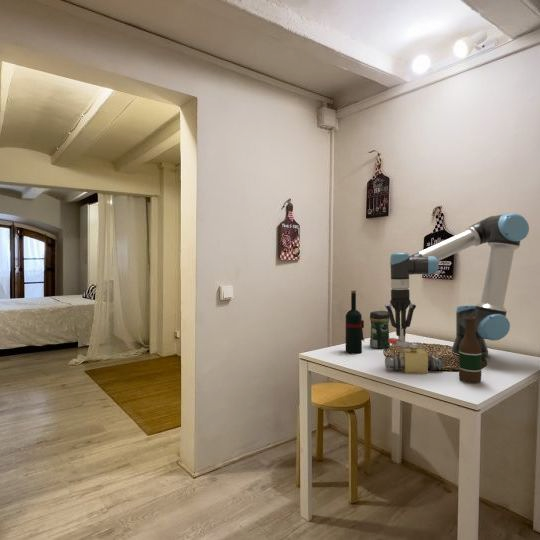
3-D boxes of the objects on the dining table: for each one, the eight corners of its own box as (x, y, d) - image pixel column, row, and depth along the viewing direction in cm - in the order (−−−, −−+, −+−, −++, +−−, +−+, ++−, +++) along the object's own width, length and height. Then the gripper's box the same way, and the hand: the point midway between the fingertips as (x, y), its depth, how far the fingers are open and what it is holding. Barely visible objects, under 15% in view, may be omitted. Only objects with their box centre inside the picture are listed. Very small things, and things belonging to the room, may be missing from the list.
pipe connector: (411, 352, 182) (411, 332, 182) (417, 358, 172) (417, 336, 172) (389, 352, 183) (389, 332, 183) (394, 358, 173) (394, 336, 173)
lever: (421, 348, 155) (421, 344, 154) (414, 350, 152) (414, 345, 152) (394, 341, 167) (394, 337, 167) (387, 343, 165) (387, 338, 165)
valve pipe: (437, 367, 159) (437, 346, 158) (444, 373, 152) (444, 350, 151) (384, 367, 160) (384, 346, 159) (388, 373, 153) (388, 350, 152)
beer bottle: (462, 375, 149) (462, 314, 148) (484, 380, 143) (485, 316, 142) (455, 380, 143) (456, 317, 142) (478, 385, 138) (478, 319, 137)
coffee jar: (381, 344, 200) (381, 309, 199) (392, 347, 193) (392, 311, 192) (366, 346, 196) (366, 310, 195) (377, 349, 188) (377, 312, 188)
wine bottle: (369, 352, 185) (369, 290, 183) (352, 354, 180) (352, 291, 179) (358, 348, 192) (358, 289, 190) (342, 351, 187) (341, 290, 186)
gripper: (388, 290, 159) (389, 345, 160) (418, 289, 159) (419, 344, 160) (382, 288, 166) (383, 341, 168) (411, 287, 167) (412, 340, 168)
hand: (401, 343), depth 164 cm, fingers closed
